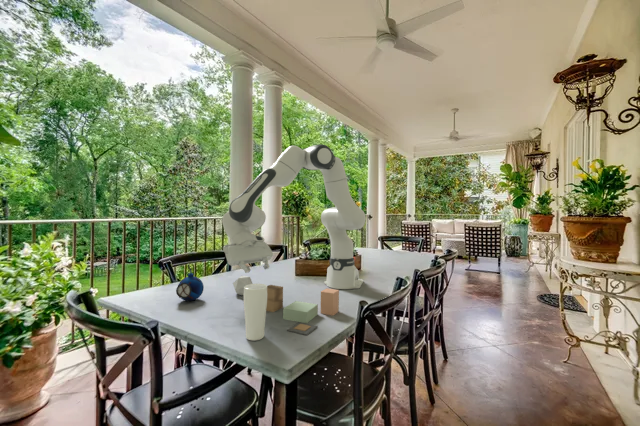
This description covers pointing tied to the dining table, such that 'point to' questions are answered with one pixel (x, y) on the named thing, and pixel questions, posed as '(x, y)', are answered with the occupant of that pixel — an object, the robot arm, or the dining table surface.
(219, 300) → the dining table surface
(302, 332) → the card
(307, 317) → the sage base block
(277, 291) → the walnut block
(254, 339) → the drinking glass
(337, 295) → the terracotta block
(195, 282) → the bomb
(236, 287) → the die
